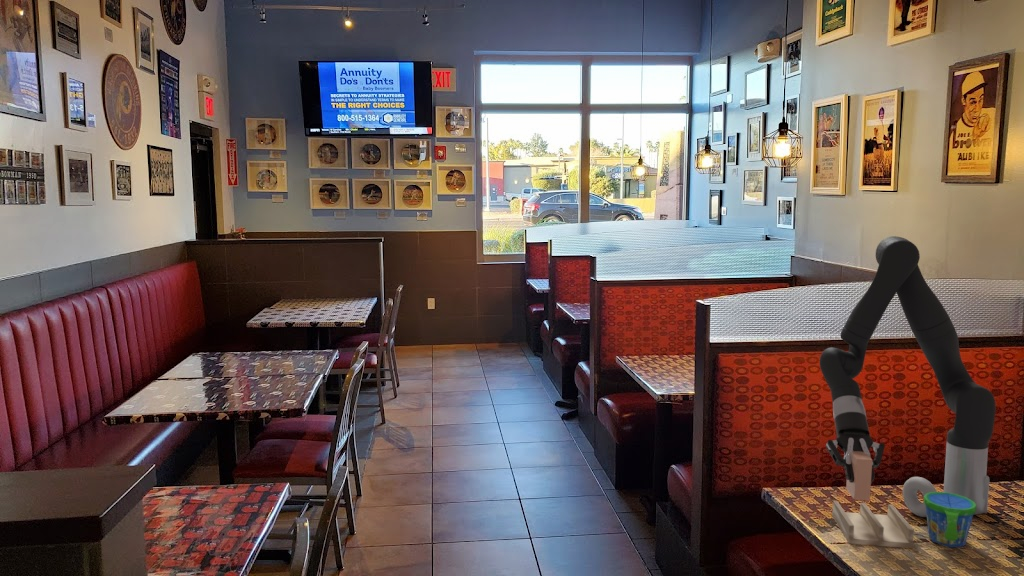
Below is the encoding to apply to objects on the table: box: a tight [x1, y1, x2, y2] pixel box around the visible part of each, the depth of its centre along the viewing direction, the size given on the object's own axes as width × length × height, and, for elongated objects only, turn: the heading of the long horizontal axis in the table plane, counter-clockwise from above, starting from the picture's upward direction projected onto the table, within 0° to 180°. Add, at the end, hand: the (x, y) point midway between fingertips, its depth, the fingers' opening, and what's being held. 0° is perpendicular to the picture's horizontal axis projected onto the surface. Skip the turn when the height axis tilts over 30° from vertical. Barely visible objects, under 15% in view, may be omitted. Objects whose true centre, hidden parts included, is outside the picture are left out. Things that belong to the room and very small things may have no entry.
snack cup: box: [923, 491, 976, 548], centre depth 176 cm, size 16×10×10 cm
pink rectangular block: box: [845, 451, 873, 502], centre depth 181 cm, size 4×7×10 cm, turn 171°
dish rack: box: [831, 500, 915, 549], centre depth 182 cm, size 14×16×4 cm
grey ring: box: [902, 476, 938, 518], centre depth 191 cm, size 10×4×10 cm, turn 18°
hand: (861, 481), depth 179 cm, fingers closed on pink rectangular block, 3 cm apart
